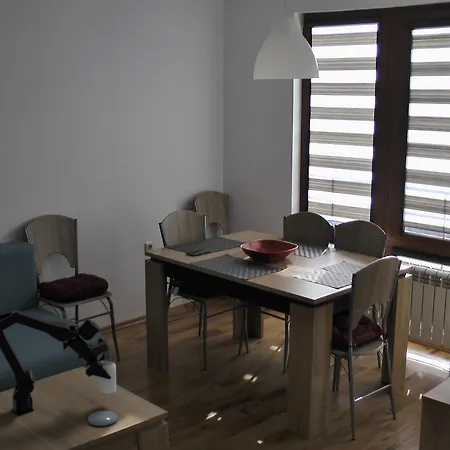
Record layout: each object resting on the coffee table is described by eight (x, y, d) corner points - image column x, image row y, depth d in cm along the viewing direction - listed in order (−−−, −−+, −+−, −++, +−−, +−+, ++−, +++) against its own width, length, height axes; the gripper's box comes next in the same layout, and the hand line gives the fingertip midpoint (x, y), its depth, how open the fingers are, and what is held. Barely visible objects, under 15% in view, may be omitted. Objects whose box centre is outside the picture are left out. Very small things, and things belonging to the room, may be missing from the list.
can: (112, 395, 267) (112, 365, 265) (96, 394, 268) (96, 364, 266) (118, 388, 273) (118, 359, 271) (102, 387, 275) (102, 358, 273)
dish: (98, 429, 252) (98, 427, 252) (82, 419, 260) (82, 416, 260) (123, 420, 259) (123, 418, 259) (107, 410, 267) (107, 408, 267)
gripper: (93, 342, 257) (124, 370, 260) (99, 326, 276) (127, 352, 279) (72, 363, 258) (103, 390, 261) (79, 345, 276) (107, 371, 279)
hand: (111, 375), depth 270 cm, fingers closed on can, 6 cm apart
